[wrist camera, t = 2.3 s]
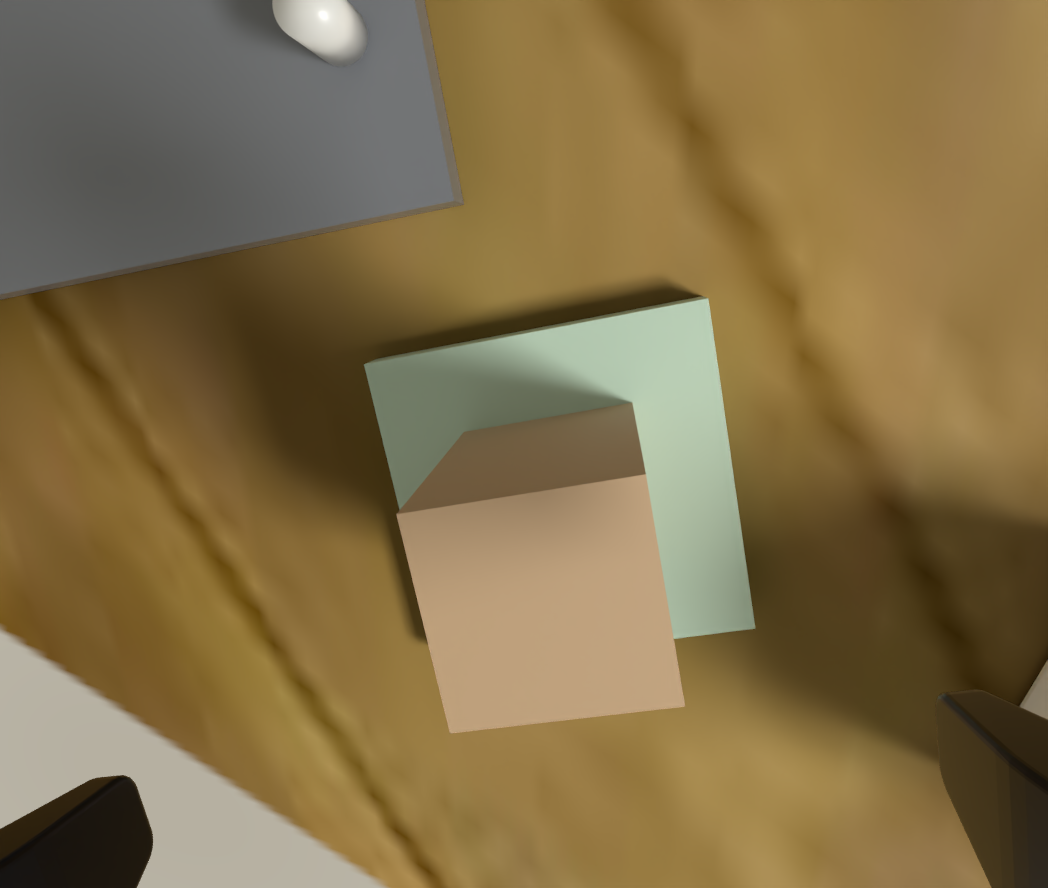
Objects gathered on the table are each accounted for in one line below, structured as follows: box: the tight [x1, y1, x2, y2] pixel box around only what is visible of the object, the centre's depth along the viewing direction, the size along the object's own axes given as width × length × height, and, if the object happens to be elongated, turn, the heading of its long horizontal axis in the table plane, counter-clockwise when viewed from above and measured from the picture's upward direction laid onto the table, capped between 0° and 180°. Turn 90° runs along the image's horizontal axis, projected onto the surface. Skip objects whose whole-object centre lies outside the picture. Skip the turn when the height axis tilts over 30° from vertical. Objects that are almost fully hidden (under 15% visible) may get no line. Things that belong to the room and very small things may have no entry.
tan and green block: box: [364, 296, 755, 733], centre depth 16 cm, size 8×8×7 cm
